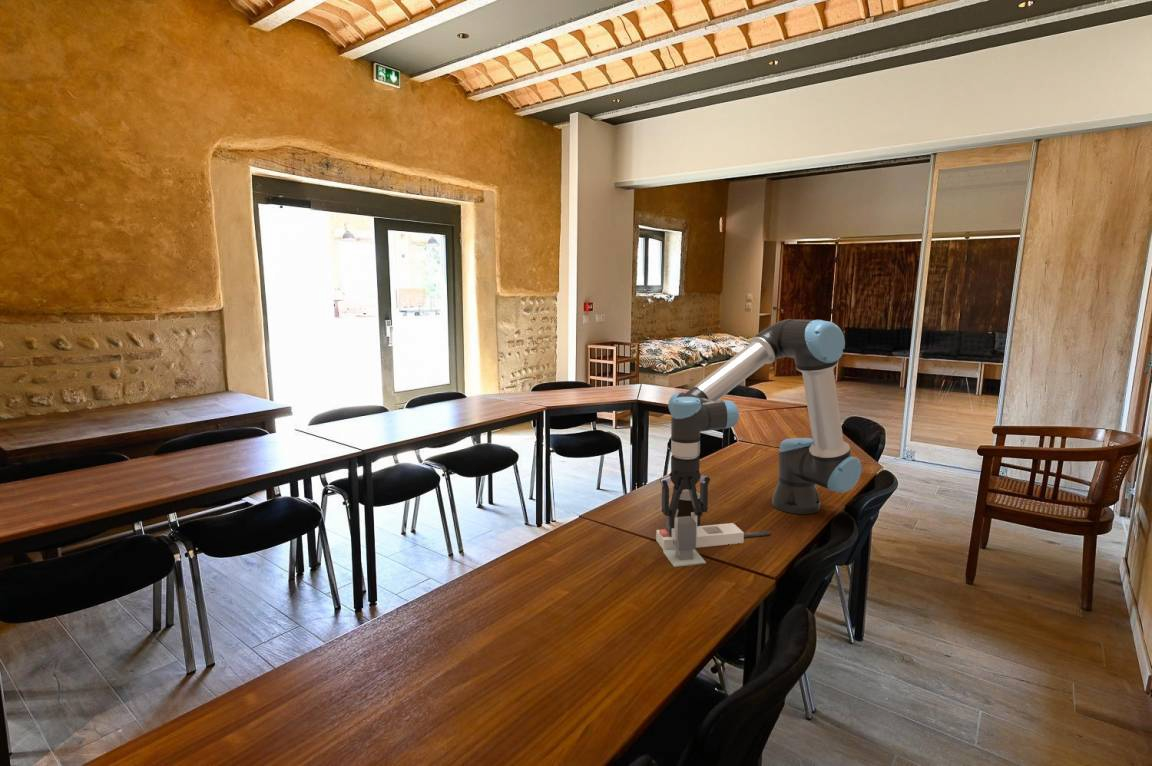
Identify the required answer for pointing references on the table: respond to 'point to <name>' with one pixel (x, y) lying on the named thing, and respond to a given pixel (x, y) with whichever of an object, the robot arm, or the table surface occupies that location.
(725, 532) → the strip
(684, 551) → the block
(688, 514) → the coffee mug
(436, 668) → the table surface
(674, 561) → the pad
